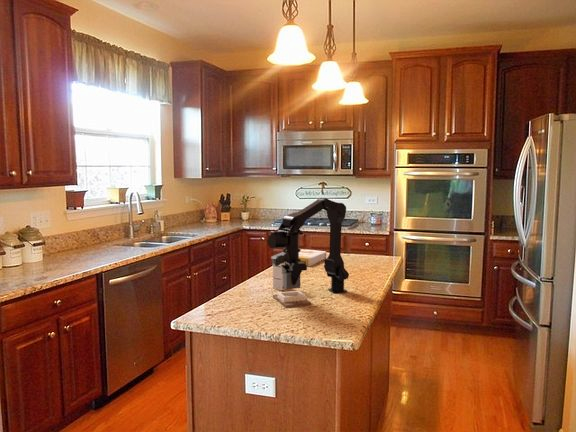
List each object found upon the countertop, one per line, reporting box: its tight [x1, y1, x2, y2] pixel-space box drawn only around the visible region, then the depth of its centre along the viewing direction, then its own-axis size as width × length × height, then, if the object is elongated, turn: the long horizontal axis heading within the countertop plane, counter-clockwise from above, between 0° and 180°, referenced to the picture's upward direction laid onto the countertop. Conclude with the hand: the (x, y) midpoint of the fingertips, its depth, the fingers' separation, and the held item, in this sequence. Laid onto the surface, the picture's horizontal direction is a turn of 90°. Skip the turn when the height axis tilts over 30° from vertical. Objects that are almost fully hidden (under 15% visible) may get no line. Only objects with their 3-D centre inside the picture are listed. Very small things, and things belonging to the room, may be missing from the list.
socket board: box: [272, 290, 312, 309], centre depth 192 cm, size 16×11×3 cm
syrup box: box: [272, 263, 287, 291], centre depth 212 cm, size 6×6×14 cm
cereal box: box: [299, 248, 327, 268], centre depth 278 cm, size 20×6×28 cm
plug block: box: [283, 272, 301, 290], centre depth 192 cm, size 4×6×6 cm, turn 110°
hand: (291, 283), depth 192 cm, fingers closed on plug block, 4 cm apart
